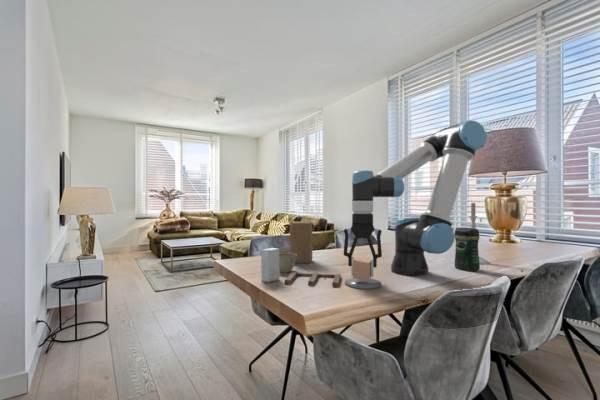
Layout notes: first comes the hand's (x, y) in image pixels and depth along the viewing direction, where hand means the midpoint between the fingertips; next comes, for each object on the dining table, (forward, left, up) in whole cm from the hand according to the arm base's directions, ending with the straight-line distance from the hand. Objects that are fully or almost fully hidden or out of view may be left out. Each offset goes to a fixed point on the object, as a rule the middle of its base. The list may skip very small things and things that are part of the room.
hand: (362, 275), depth 111 cm
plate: (0, 0, -3) cm, 3 cm away
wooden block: (+30, -36, -3) cm, 47 cm away
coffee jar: (-46, -34, -3) cm, 58 cm away
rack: (+18, -2, -3) cm, 19 cm away
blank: (0, -1, 0) cm, 1 cm away
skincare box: (+35, +1, -3) cm, 35 cm away
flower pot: (+33, -15, -3) cm, 36 cm away
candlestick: (-55, -53, -3) cm, 77 cm away
